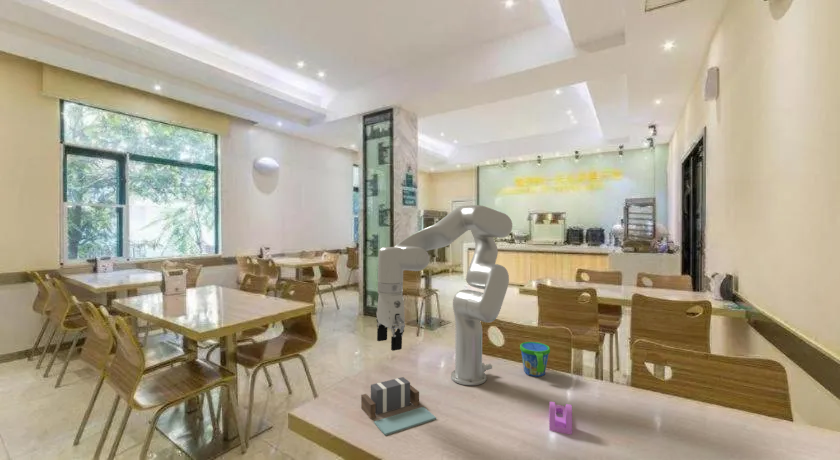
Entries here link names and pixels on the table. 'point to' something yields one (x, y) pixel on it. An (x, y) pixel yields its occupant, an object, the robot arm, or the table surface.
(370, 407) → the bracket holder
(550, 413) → the bracket
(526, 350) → the snack cup
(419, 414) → the rubber mat
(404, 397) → the banded grey block
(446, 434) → the table surface
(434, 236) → the robot arm
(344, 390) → the table surface
